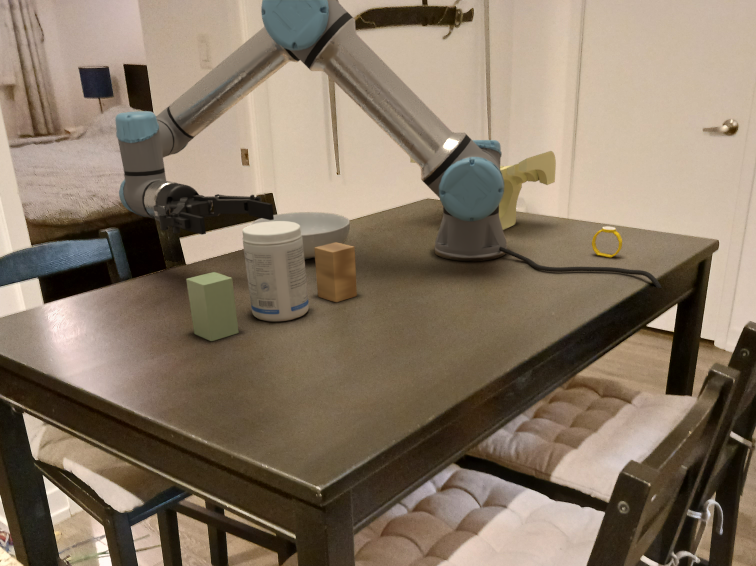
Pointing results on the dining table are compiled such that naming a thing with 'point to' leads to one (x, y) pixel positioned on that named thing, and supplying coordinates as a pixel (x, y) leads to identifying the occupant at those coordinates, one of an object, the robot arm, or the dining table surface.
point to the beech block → (336, 271)
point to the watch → (607, 230)
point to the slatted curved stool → (517, 174)
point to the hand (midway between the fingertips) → (238, 218)
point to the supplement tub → (276, 270)
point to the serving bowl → (316, 228)
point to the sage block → (212, 306)
